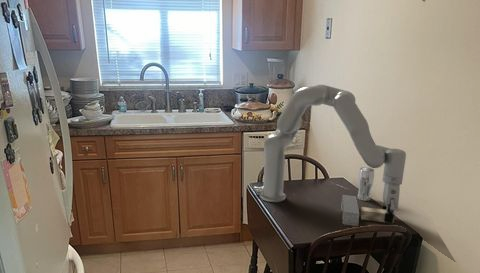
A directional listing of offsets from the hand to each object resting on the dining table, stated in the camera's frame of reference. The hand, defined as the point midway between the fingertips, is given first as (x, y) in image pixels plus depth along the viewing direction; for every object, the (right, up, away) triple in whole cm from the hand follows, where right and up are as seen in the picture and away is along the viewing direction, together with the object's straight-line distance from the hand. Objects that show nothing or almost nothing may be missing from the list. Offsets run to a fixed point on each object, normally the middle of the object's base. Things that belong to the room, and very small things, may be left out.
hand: (387, 218), depth 158 cm
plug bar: (-4, -1, +1) cm, 4 cm away
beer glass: (-2, +4, +23) cm, 23 cm away
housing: (-15, 0, +4) cm, 16 cm away
